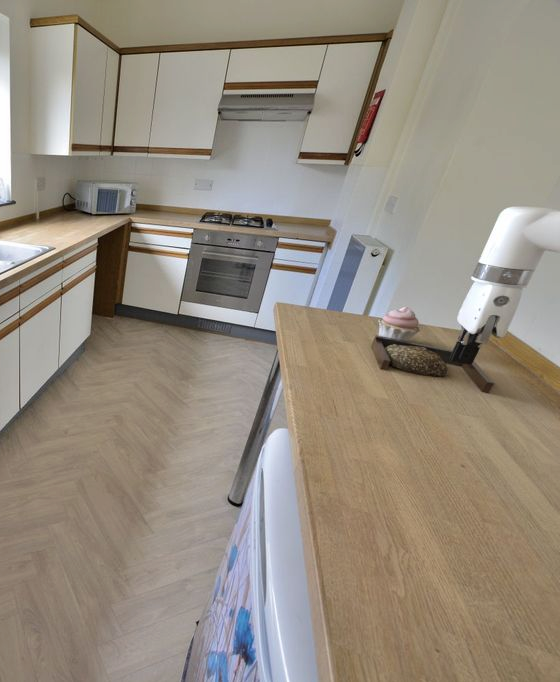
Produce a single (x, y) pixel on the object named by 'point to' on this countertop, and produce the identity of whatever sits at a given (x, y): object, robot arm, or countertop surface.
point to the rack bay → (472, 370)
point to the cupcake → (399, 324)
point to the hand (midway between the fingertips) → (460, 361)
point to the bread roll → (416, 360)
